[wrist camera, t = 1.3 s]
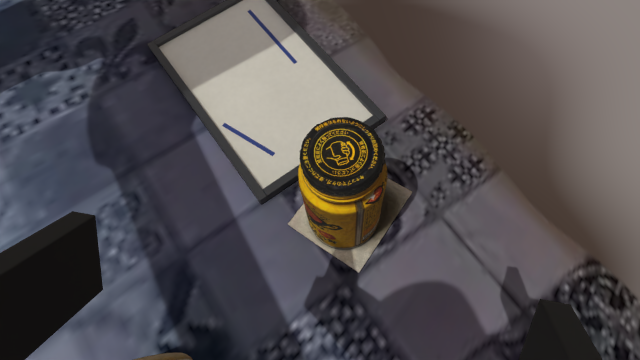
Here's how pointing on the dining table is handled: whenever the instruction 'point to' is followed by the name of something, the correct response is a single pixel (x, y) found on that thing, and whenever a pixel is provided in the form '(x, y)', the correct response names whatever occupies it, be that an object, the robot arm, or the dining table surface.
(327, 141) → the condiment
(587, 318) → the dining table surface
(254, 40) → the whiteboard
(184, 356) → the ceramic mug
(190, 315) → the dining table surface
